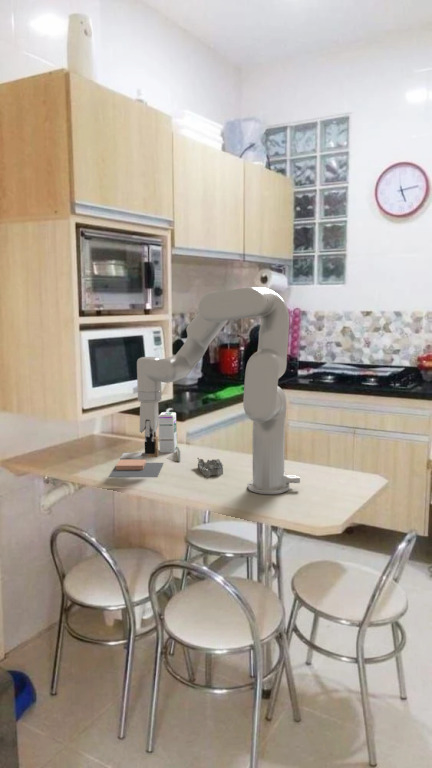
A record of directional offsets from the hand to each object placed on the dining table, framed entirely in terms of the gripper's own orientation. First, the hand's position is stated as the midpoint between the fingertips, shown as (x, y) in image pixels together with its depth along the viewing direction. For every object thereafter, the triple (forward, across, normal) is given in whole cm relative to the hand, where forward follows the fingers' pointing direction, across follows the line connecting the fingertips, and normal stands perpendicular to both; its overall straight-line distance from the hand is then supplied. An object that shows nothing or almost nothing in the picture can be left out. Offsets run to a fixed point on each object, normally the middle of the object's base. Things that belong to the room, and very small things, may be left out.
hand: (150, 451), depth 191 cm
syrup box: (+8, -30, +2) cm, 31 cm away
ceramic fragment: (+9, -21, +6) cm, 23 cm away
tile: (+7, -9, -4) cm, 12 cm away
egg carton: (+8, -5, +19) cm, 21 cm away
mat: (+8, -6, -6) cm, 12 cm away
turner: (+2, 0, -4) cm, 4 cm away
